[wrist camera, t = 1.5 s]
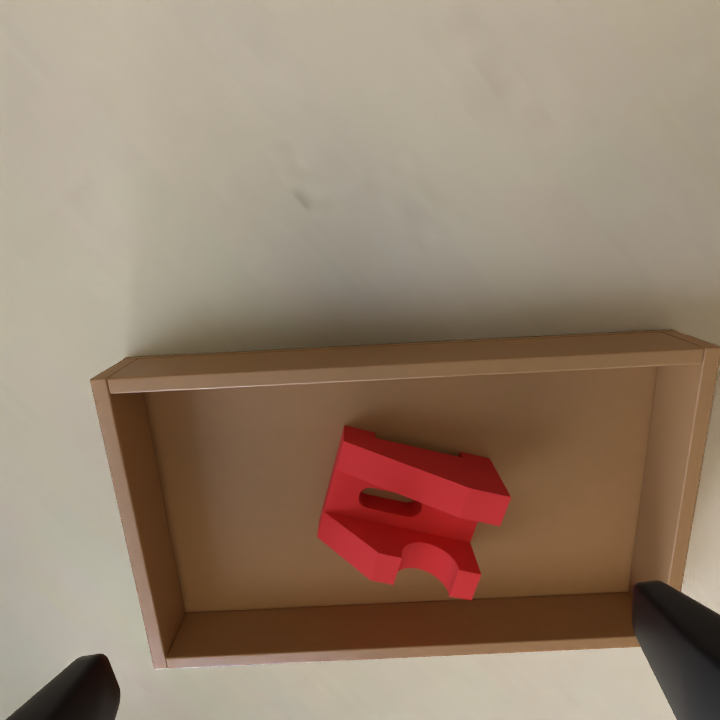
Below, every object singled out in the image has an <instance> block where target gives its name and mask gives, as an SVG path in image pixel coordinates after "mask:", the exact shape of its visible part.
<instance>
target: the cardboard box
mask: <svg viewBox="0 0 720 720" xmlns="http://www.w3.org/2000/svg"><path fill="white" fill-rule="evenodd" d="M719 362H720V346H717V345H714V344H711V343H708V342H705V341H703V340H700V339H697V338H694V337H691V336H688V335H686V334H683V333H680V332H677V331H675V330H672V329H671V330H651V331H632V332H612V333H593V334H573V335H554V336H534V337H515V338H495V339H476V340H456V341H437V342H417V343H398V344H378V345H359V346H339V347H320V348H300V349H281V350H261V351H242V352H222V353H203V354H183V355H164V356H144V357H126V358H124V359H123V360H122V361H120V362H118V363H117V364H115V365H113V366H112V367H110V368H108V369H107V370H105V371H103V372H102V373H100V374H98V375H97V376H95V377H93V378H92V379H90V382H91V387H92V391H93V396H94V400H95V405H96V409H97V414H98V418H99V423H100V427H101V432H102V436H103V441H104V445H105V450H106V454H107V459H108V463H109V468H110V472H111V477H112V481H113V486H114V490H115V495H116V499H117V504H118V508H119V513H120V517H121V522H122V526H123V531H124V535H125V540H126V544H127V548H128V553H129V557H130V562H131V566H132V571H133V575H134V580H135V584H136V589H137V593H138V598H139V602H140V607H141V611H142V616H143V620H144V625H145V629H146V634H147V638H148V643H149V647H150V652H151V656H152V661H153V665H154V669H167V668H169V669H170V668H192V667H213V666H235V665H257V664H278V663H300V662H321V661H343V660H365V659H386V658H408V657H429V656H451V655H473V654H494V653H516V652H537V651H559V650H581V649H602V648H624V647H641V646H640V644H639V642H638V640H637V638H636V636H635V633H634V630H633V625H632V588H633V585H634V584H635V583H638V582H645V581H652V580H659V581H662V582H664V583H666V584H668V585H670V586H671V587H673V588H675V589H676V590H678V591H680V592H681V588H682V582H683V576H684V570H685V564H686V558H687V552H688V546H689V540H690V534H691V528H692V522H693V517H694V511H695V505H696V499H697V493H698V487H699V481H700V475H701V469H702V463H703V457H704V451H705V445H706V439H707V433H708V428H709V422H710V416H711V410H712V404H713V398H714V392H715V386H716V380H717V374H718V368H719ZM344 425H345V426H349V427H354V428H358V429H362V430H367V431H371V432H375V436H376V438H378V439H382V440H387V441H391V442H396V443H400V444H405V445H409V446H413V447H418V448H422V449H427V450H431V451H436V452H440V453H444V454H449V455H453V456H459V453H460V452H464V453H468V454H473V455H477V456H481V457H486V458H490V460H491V462H492V463H493V465H494V467H495V469H496V471H497V472H498V474H499V476H500V478H501V480H502V481H503V483H504V485H505V487H506V489H507V490H508V492H509V494H510V496H511V500H510V502H509V505H508V507H507V510H506V512H505V515H504V518H503V520H502V523H501V525H500V526H496V525H491V524H487V523H482V522H478V523H477V525H476V528H475V531H474V534H473V536H472V539H471V542H470V543H471V546H472V549H473V552H474V555H475V558H476V560H477V563H478V566H479V569H480V572H481V577H480V580H479V582H478V585H477V587H476V590H475V593H474V595H473V598H472V600H471V601H470V600H465V599H460V598H455V597H450V596H449V594H448V591H447V589H446V587H445V586H444V584H443V583H442V582H441V581H440V580H439V579H438V578H436V577H435V576H434V575H432V574H430V573H428V572H426V571H424V570H421V569H417V568H405V569H402V570H400V571H398V572H397V575H396V578H395V581H394V584H393V585H391V584H386V583H381V582H376V581H371V580H369V579H368V578H367V577H366V576H365V575H363V574H362V573H361V572H360V571H358V570H357V569H356V568H355V567H353V566H352V565H351V564H350V563H349V562H347V561H346V560H345V559H344V558H342V557H341V556H340V555H339V554H337V553H336V552H335V551H334V550H333V549H331V548H330V547H329V546H328V545H326V544H325V543H324V542H323V541H321V540H320V539H319V538H318V537H317V534H318V526H319V520H320V516H321V512H322V508H323V504H324V501H325V497H326V493H327V489H328V485H329V482H330V478H331V474H332V470H333V466H334V463H335V459H336V455H337V451H338V447H339V444H340V440H341V436H342V432H343V428H344ZM362 492H363V493H365V494H369V495H373V496H378V497H383V498H387V499H392V500H396V501H401V502H407V503H408V502H412V501H414V500H413V499H410V498H408V497H405V496H403V495H400V494H398V493H394V492H390V491H385V490H381V489H376V488H366V489H364V490H362Z"/></svg>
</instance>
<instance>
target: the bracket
mask: <svg viewBox="0 0 720 720" xmlns="http://www.w3.org/2000/svg"><path fill="white" fill-rule="evenodd" d="M366 488H376V489H381V490H385V491H390V492H394V493H398V494H400V495H403V496H405V497H408V498H410V499H413V500H414V501H412V502H408V503H407V502H401V501H396V500H392V499H387V498H383V497H378V496H373V495H369V494H365V493H363V492H362V490H364V489H366ZM510 500H511V496H510V494H509V492H508V490H507V489H506V487H505V485H504V483H503V481H502V480H501V478H500V476H499V474H498V472H497V471H496V469H495V467H494V465H493V463H492V462H491V460H490V458H486V457H481V456H477V455H473V454H468V453H464V452H460V453H459V456H453V455H449V454H444V453H440V452H436V451H431V450H427V449H422V448H418V447H413V446H409V445H405V444H400V443H396V442H391V441H387V440H382V439H378V438H376V436H375V432H371V431H367V430H362V429H358V428H354V427H349V426H345V425H344V428H343V432H342V436H341V440H340V444H339V447H338V451H337V455H336V459H335V463H334V466H333V470H332V474H331V478H330V482H329V485H328V489H327V493H326V497H325V501H324V504H323V508H322V512H321V516H320V520H319V526H318V534H317V537H318V538H319V539H320V540H321V541H323V542H324V543H325V544H326V545H328V546H329V547H330V548H331V549H333V550H334V551H335V552H336V553H337V554H339V555H340V556H341V557H342V558H344V559H345V560H346V561H347V562H349V563H350V564H351V565H352V566H353V567H355V568H356V569H357V570H358V571H360V572H361V573H362V574H363V575H365V576H366V577H367V578H368V579H369V580H371V581H376V582H381V583H386V584H391V585H393V584H394V581H395V578H396V575H397V572H398V571H400V570H402V569H405V568H417V569H421V570H424V571H426V572H428V573H430V574H432V575H434V576H435V577H436V578H438V579H439V580H440V581H441V582H442V583H443V584H444V586H445V587H446V589H447V591H448V594H449V596H450V597H455V598H460V599H465V600H470V601H471V600H472V598H473V595H474V593H475V590H476V587H477V585H478V582H479V580H480V577H481V572H480V569H479V566H478V563H477V560H476V558H475V555H474V552H473V549H472V546H471V543H470V542H471V539H472V536H473V534H474V531H475V528H476V525H477V523H478V522H482V523H487V524H491V525H496V526H500V525H501V523H502V520H503V518H504V515H505V512H506V510H507V507H508V505H509V502H510Z"/></svg>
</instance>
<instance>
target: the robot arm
mask: <svg viewBox="0 0 720 720" xmlns="http://www.w3.org/2000/svg"><path fill="white" fill-rule="evenodd" d="M632 625H633V630H634V633H635V636H636V638H637V640H638V642H639V644H640V646H641V648H642V650H643V652H644V654H645V656H646V658H647V660H648V662H649V664H650V666H651V668H652V670H653V672H654V674H655V676H656V678H657V680H658V682H659V684H660V686H661V688H662V690H663V692H664V694H665V697H666V699H667V701H668V703H669V705H670V707H671V709H672V711H673V713H674V715H675V717H676V719H677V720H720V615H719V614H718V613H716V612H714V611H712V610H711V609H709V608H707V607H706V606H704V605H702V604H700V603H699V602H697V601H695V600H694V599H692V598H690V597H688V596H687V595H685V594H683V593H682V592H680V591H678V590H676V589H675V588H673V587H671V586H670V585H668V584H666V583H664V582H662V581H659V580H652V581H645V582H638V583H635V584H634V585H633V588H632ZM119 703H120V688H119V685H118V682H117V680H116V677H115V675H114V672H113V670H112V667H111V665H110V662H109V660H108V658H107V657H106V656H105V655H104V654H95V655H87V656H82V657H79V658H77V659H76V660H75V661H74V662H72V663H71V664H70V665H69V666H68V667H67V668H65V669H64V670H63V671H62V672H61V673H60V674H58V675H57V676H56V677H55V678H54V679H53V680H51V681H50V682H49V683H48V684H47V685H46V686H44V687H43V688H42V689H41V690H40V691H39V692H37V693H36V694H35V695H34V696H33V697H32V698H30V699H29V700H28V701H27V702H26V703H25V704H23V705H22V706H21V707H20V708H19V709H18V710H16V711H15V712H14V713H13V714H12V715H11V716H9V717H8V718H7V719H6V720H115V717H116V714H117V711H118V707H119Z"/></svg>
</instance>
